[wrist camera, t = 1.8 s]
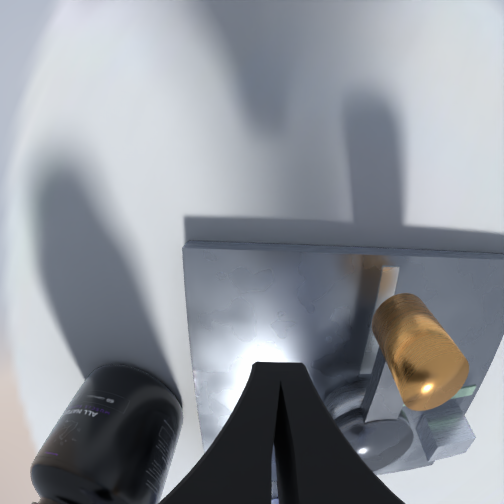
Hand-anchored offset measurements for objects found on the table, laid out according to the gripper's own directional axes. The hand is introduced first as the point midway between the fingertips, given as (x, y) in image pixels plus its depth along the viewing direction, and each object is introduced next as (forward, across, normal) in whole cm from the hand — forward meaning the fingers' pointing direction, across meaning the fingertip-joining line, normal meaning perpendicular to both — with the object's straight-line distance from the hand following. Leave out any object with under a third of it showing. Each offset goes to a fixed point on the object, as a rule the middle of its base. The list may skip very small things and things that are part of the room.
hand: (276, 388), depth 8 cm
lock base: (+7, -5, +7) cm, 11 cm away
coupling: (+4, -5, +4) cm, 8 cm away
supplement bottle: (+7, +8, +9) cm, 14 cm away
